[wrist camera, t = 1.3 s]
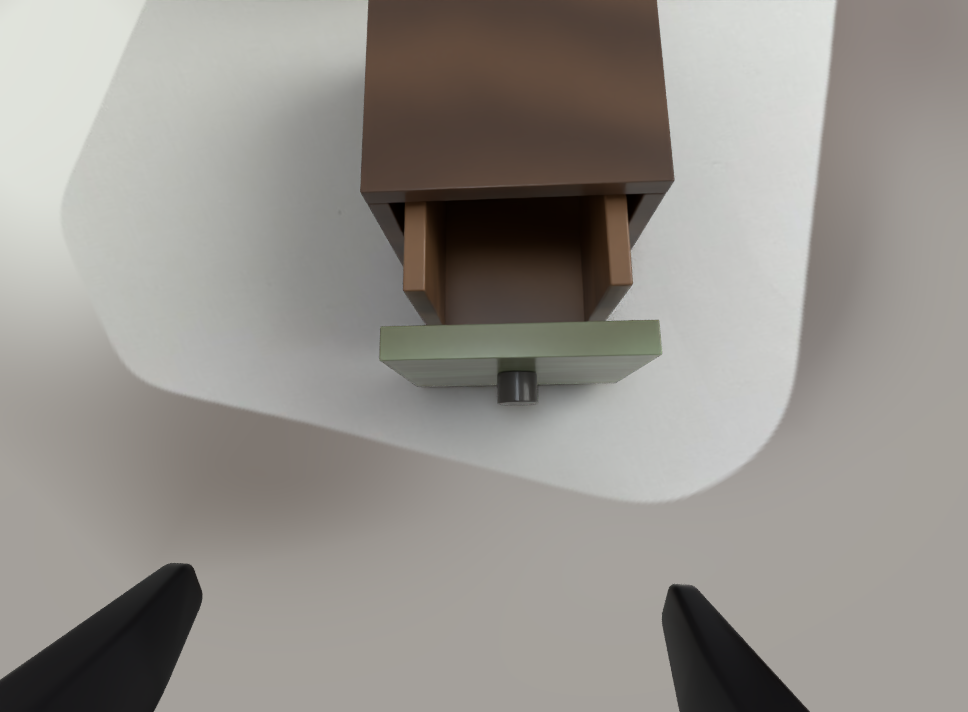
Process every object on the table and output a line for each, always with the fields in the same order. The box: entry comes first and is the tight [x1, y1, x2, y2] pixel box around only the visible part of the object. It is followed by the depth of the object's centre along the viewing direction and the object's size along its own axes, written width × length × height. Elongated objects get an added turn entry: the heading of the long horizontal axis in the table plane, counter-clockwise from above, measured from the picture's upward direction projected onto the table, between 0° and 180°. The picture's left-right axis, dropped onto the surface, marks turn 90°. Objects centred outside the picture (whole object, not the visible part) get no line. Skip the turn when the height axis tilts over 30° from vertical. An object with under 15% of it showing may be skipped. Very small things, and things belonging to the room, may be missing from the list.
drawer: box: [379, 194, 662, 405], centre depth 20 cm, size 14×9×7 cm
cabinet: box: [360, 0, 674, 265], centre depth 21 cm, size 14×11×9 cm
